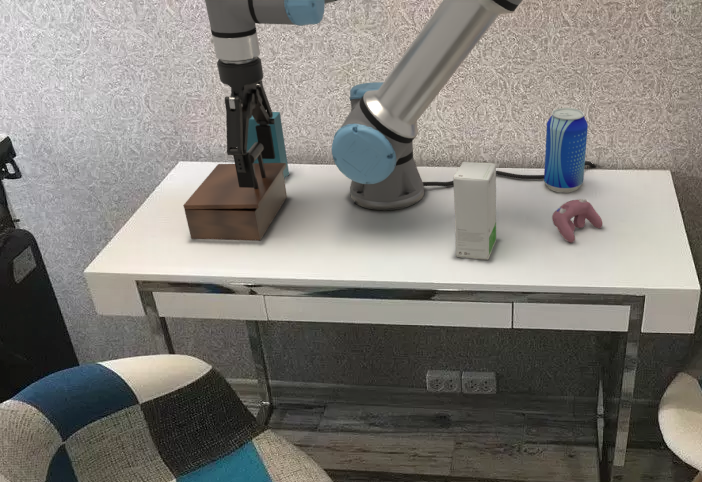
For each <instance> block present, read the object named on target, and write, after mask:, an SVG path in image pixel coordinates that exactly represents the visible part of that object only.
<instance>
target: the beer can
mask: <svg viewBox="0 0 702 482" xmlns="http://www.w3.org/2000/svg"><path fill="white" fill-rule="evenodd" d="M588 127H589V124H588V122H587V119H586V118H585V113H584V111H583V110H580V109H579V108H574V107H560V108H555V109H554V110H552V111H551V116H550V117H549V118H548V120H547V122H546V131H545V151H544V152H545V153H544V172H543V175H544V179H543V181H544V183H545V184H546V186H547V188H548V190H551V191H553V192H557V193H566V194H567V193H573V192H576V191H577V190H579V189H580V187H581V185H583V183H584V180H585V179H584V178H585V168H586V167H585V161H586V153H587V141H588V129H589V128H588Z"/></svg>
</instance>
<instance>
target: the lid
mask: <svg viewBox="0 0 702 482" xmlns="http://www.w3.org/2000/svg"><path fill="white" fill-rule="evenodd" d="M263 149H264V147H263V145H262V144H261V143H260V142H255V143H254V144H253V145H252V147H251V148H250V149H249V150H248V152H249V154H250V160H251V166H252V171H253V177H254V183H255V187H254V188H244V187H239V183H238V178H237V172H236V167H235V163H218V164H217V165H216V166H215V167H214V168H213V169H212V170H211V171H210V173H209V174H208V176H206V178H205V179H204V180H203V181H202V182H201V184H200V185H199V186H198V187H197V188H196V189H195V191H194V192H193V193H192V194H191V195H190V197H189V198H188V199H187V200H186V201H185V202H184V204H183V209H236V208H259V207H260V205H261V204H262V202H263V201H264V199H265V198H266V196H267V195H268V193H269V192H270V190H271V189H272V187H273V186H274V184H275V183H276V181H277V180H278V178H279V177H280V175H281V174H282V172H283V171H284V169H285V168H286V163H263V160H262V155H261V152H262V151H263ZM257 158H258V162H259V163H254V161H255V160H256V159H257Z"/></svg>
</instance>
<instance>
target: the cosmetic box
mask: <svg viewBox="0 0 702 482" xmlns="http://www.w3.org/2000/svg"><path fill="white" fill-rule="evenodd" d="M496 171H497V163H495V162H475V161H462V163H461V164H460V166H459V167H457V169H456V172H455V173H454V175H453V178H452V179H453V181H454V185H453V205H454V231H455V232H454V233H455V234H454V235H455V257H457V258H465V259H474V260H475V259H476V260H489V259H490V258H491V254H492V253H493V249H494V247H495V245H496V243H497V175H496Z"/></svg>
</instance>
